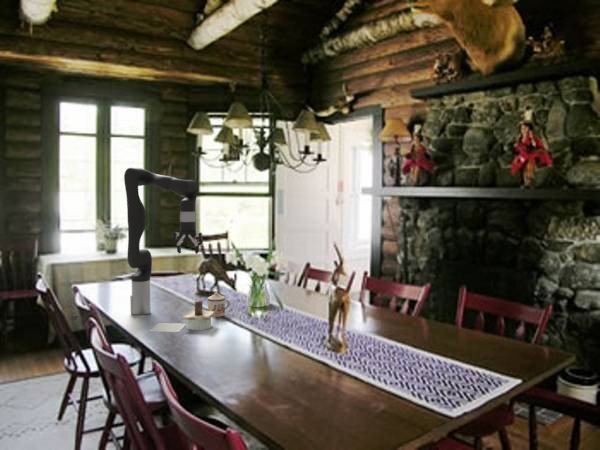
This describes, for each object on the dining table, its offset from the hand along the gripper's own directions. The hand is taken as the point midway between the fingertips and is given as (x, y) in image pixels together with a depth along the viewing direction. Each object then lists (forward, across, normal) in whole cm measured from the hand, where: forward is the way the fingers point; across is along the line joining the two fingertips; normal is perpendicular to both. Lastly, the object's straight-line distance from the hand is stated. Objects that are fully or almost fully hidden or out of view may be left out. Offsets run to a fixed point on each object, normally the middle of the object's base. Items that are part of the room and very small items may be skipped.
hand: (188, 253), depth 256 cm
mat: (+33, -5, -17) cm, 38 cm away
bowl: (+33, +9, -15) cm, 37 cm away
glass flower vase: (+33, +30, +34) cm, 56 cm away
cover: (+28, +9, -15) cm, 33 cm away
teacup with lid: (+33, +13, +10) cm, 37 cm away
